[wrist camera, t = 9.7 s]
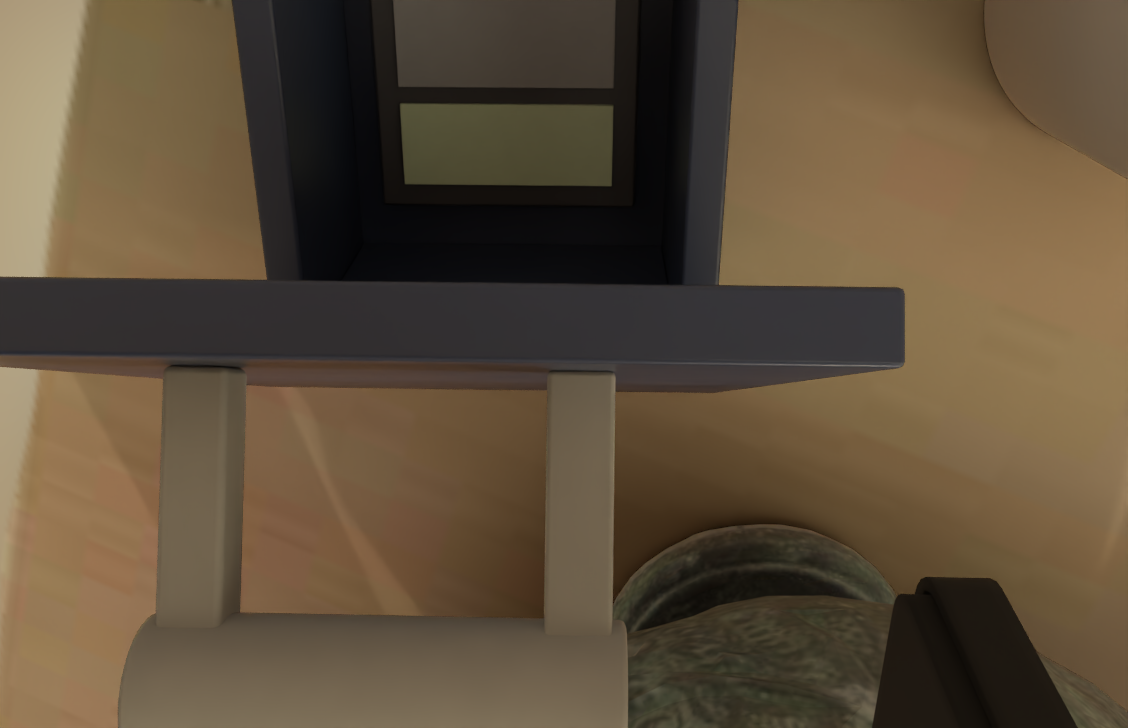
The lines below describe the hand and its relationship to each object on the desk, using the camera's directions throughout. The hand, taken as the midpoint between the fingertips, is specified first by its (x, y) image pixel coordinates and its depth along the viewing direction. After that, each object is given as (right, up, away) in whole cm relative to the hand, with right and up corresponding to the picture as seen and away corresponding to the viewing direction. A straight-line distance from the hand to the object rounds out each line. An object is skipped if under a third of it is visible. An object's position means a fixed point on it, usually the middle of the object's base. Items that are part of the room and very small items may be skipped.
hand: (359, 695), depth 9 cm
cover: (0, +3, +7) cm, 7 cm away
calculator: (0, +11, +16) cm, 20 cm away
